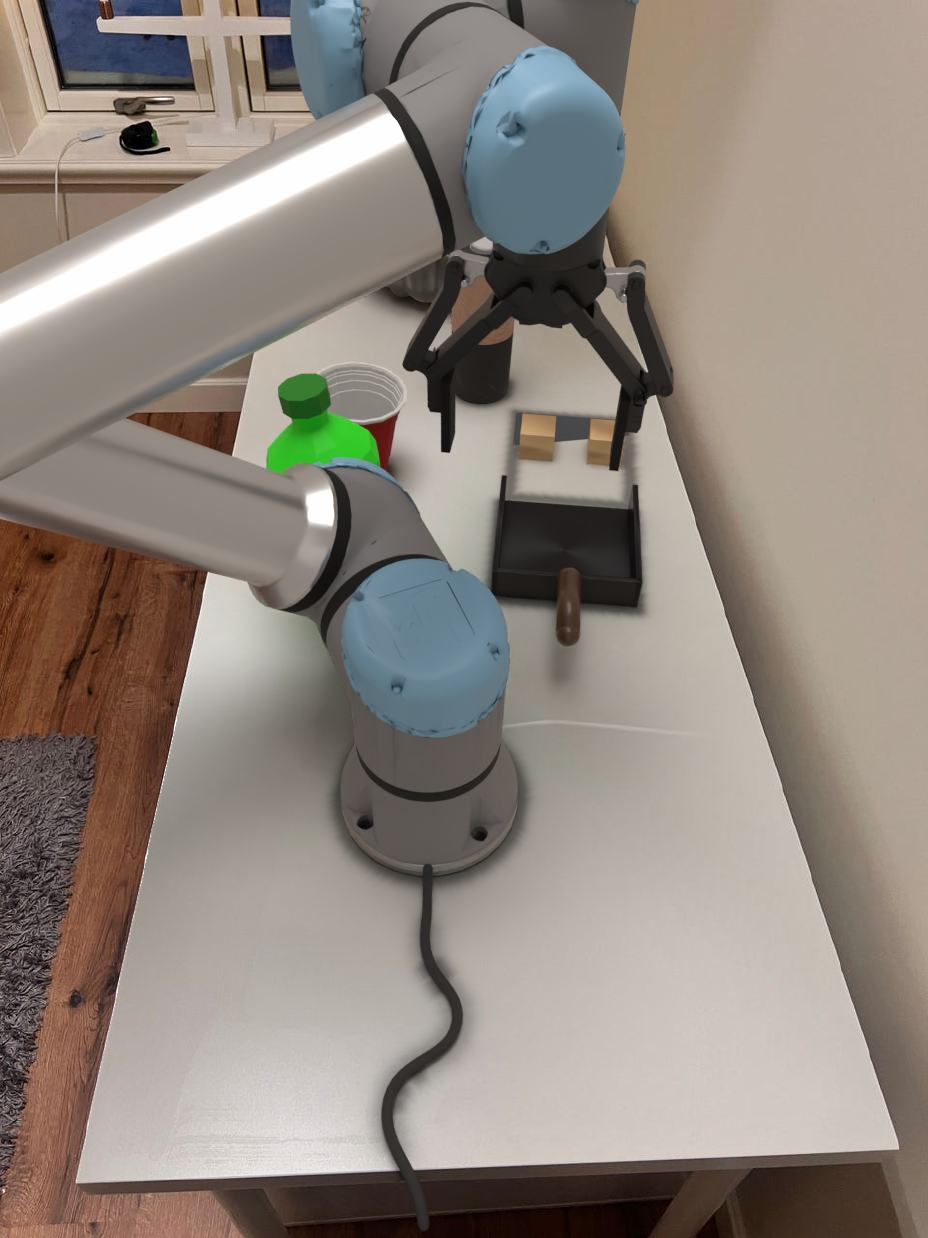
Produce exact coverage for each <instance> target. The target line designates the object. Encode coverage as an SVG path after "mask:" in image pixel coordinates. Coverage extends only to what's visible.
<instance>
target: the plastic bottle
mask: <svg viewBox="0 0 928 1238" xmlns="http://www.w3.org/2000/svg"><path fill="white" fill-rule="evenodd" d="M316 373H317V372H316ZM316 373H311V372H309V373H299V374H296V375H294V376H290V377H288V378H286V379H285V380H284V381H283V382H282V383H280V385H278V386H277V397H278V401H279V404H280V407H281V410H282V413H283V414H284V415H285V416H287V417H288V418H290V419H291V423H289V425H287V427H285V429H283V431H281V432H280V433H279V435H277V437H276V438H275V439H274V440H273V441H272V442H271V443H270V445H269V446H268V447H267V451H266V460H265V461H266V467H265V468H267V469H269V470H272V471H275V472H278V473H281V472H282V471H284V470H285V469H287V468H288V467H290V466H292V465H294V464H298V463H308V464H313V463H316V462H321V464H327V463H329V462H330V461H331V459H332V458H338V457H347V458H356V459H361V460H364V461H368V462H370V463H373V464H375V465H377V466H379V467H380V461H379V454H378V448H377V444H376V440H375V439H374V437H373V436H372V435H371V433H370V432H369V431H368V430H367V429H365V428H363V427H361V426H360V425H358V424H356V423H354V422H352V421H351V420H349V419H347V418H344V417H341V416H338V415H336V414H332V413H328V411H327V409H328V408H329V407H330V406H331V398H330V393H329V389H328V385H327V381H326V378H324V377H322V376H320V375H318V374H316Z"/></svg>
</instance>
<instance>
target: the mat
mask: <svg viewBox="0 0 928 1238" xmlns="http://www.w3.org/2000/svg"><path fill="white" fill-rule="evenodd" d="M523 414H532V413H529V412H516V415H515V416H516V417H515V424H514V433H513V444H512V445H514V446H519V445H520V433H521V424H522V415H523ZM534 414H535V415H545V414H542V413H534ZM547 415H548V416H556V428H555V440H554V443H561V442H572V441H583V440H588V434H589V426H590V419H599V418H596V417H583V416H572V415H571V416H568V415H555V414H547ZM601 419H602V420H612V419H611V418H601ZM629 435H630V432H625V437H628V436H629Z"/></svg>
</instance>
